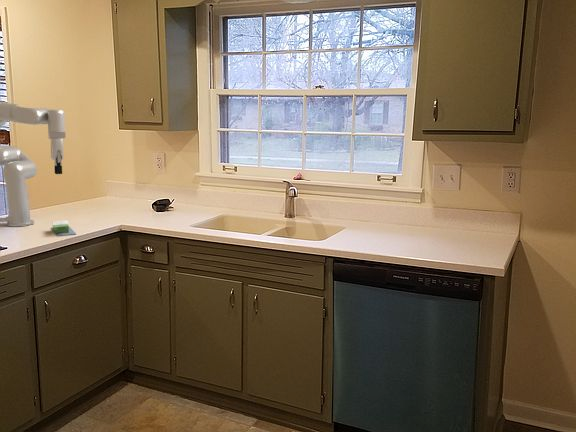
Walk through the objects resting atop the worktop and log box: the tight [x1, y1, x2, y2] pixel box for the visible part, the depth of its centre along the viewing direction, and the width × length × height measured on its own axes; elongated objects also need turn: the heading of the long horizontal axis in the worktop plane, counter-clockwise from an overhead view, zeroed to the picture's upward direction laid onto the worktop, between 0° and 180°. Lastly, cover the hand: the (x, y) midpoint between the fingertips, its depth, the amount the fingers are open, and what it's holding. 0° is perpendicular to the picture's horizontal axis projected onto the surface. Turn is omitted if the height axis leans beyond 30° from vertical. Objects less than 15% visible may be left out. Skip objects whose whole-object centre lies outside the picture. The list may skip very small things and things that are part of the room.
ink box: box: [52, 220, 70, 234], centre depth 253 cm, size 7×4×13 cm
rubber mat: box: [50, 226, 77, 237], centre depth 257 cm, size 8×20×1 cm, turn 31°
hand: (58, 173), depth 262 cm, fingers closed
